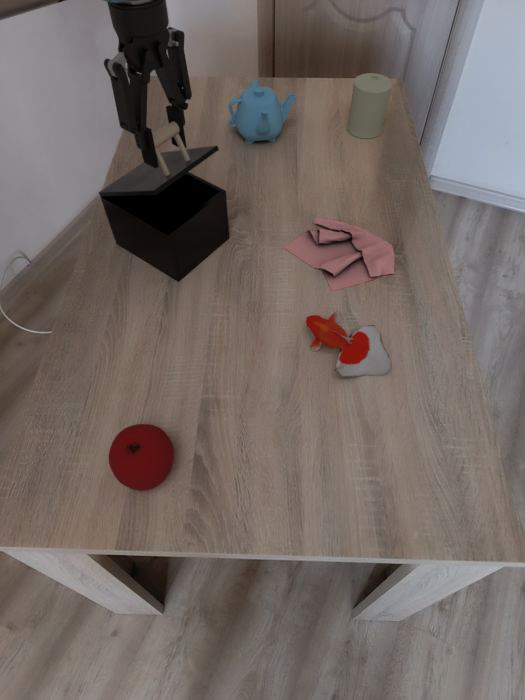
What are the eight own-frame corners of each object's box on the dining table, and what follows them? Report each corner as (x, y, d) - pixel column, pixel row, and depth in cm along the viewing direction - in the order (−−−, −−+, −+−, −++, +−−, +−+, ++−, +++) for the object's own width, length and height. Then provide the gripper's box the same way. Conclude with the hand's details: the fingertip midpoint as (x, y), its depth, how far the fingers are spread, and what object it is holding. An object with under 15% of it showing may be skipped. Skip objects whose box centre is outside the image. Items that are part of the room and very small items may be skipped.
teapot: (300, 132, 121) (303, 87, 112) (265, 157, 115) (265, 111, 106) (254, 112, 127) (253, 67, 117) (219, 134, 121) (215, 89, 111)
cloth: (408, 278, 93) (412, 270, 91) (300, 296, 90) (301, 287, 88) (373, 211, 104) (375, 202, 102) (276, 225, 101) (276, 216, 99)
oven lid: (219, 149, 83) (201, 106, 79) (156, 195, 76) (132, 150, 72) (159, 156, 95) (141, 119, 91) (100, 196, 88) (77, 158, 84)
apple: (185, 485, 70) (175, 460, 61) (124, 507, 68) (105, 484, 60) (170, 431, 74) (158, 400, 66) (112, 450, 73) (93, 421, 64)
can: (384, 121, 124) (395, 73, 114) (379, 141, 119) (390, 92, 109) (349, 116, 125) (357, 68, 115) (343, 135, 120) (350, 87, 110)
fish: (339, 291, 85) (351, 281, 75) (394, 360, 84) (413, 359, 74) (292, 329, 84) (297, 323, 74) (347, 398, 84) (360, 402, 74)
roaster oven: (229, 238, 99) (226, 190, 89) (178, 282, 92) (168, 236, 82) (168, 204, 105) (158, 156, 95) (116, 243, 98) (100, 196, 88)
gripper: (98, 26, 56) (140, 191, 75) (205, -23, 64) (219, 137, 83) (57, 10, 58) (108, 174, 77) (166, -35, 67) (187, 122, 86)
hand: (165, 154), depth 80 cm, fingers closed on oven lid, 6 cm apart
